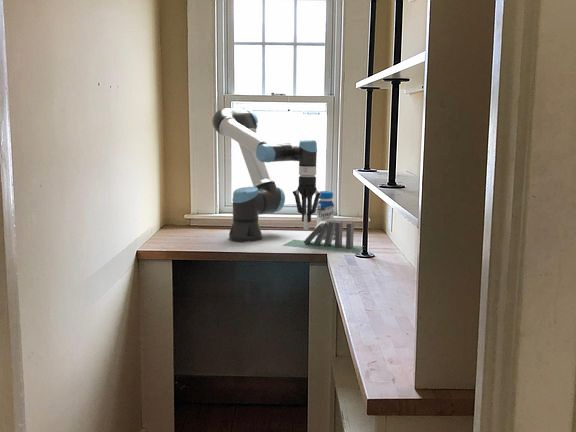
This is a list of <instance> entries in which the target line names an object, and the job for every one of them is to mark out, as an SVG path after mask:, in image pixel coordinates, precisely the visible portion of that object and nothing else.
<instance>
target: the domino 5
mask: <svg viewBox="0 0 576 432" xmlns="http://www.w3.org/2000/svg"><path fill="white" fill-rule="evenodd" d="M354 231H355V222H354V221H349V222H347V223H346V231H345V232H346V233H345V234H346V235H345V237H346V239H345V245H346V249H351V248H352V247H353V246H354V235H355V234H354V233H355V232H354Z"/></svg>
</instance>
